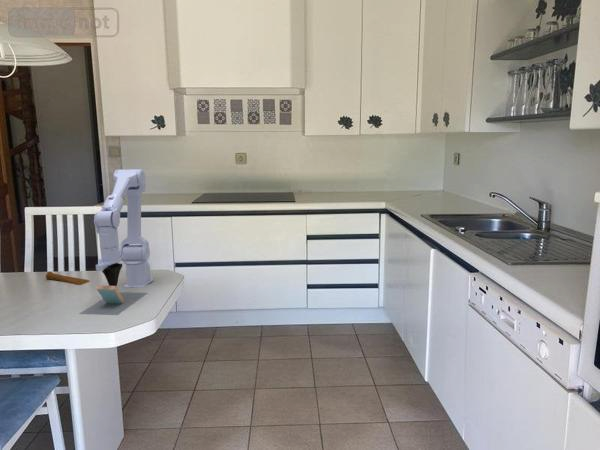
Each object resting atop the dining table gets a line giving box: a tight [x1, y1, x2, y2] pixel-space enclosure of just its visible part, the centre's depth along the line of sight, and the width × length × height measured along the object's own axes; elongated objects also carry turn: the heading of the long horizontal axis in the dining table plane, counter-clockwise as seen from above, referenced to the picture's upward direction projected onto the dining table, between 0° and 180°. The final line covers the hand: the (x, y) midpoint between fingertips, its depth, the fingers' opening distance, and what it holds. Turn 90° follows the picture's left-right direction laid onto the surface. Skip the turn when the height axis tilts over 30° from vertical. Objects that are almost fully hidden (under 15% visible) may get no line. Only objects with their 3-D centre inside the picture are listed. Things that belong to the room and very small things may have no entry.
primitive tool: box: [45, 271, 91, 286], centre depth 179 cm, size 19×6×4 cm, turn 73°
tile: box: [96, 285, 124, 304], centre depth 150 cm, size 2×6×8 cm
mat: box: [79, 291, 148, 316], centre depth 153 cm, size 21×13×1 cm, turn 173°
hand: (113, 286), depth 151 cm, fingers closed
